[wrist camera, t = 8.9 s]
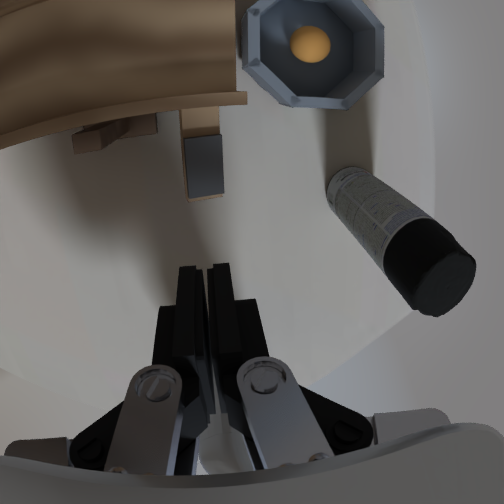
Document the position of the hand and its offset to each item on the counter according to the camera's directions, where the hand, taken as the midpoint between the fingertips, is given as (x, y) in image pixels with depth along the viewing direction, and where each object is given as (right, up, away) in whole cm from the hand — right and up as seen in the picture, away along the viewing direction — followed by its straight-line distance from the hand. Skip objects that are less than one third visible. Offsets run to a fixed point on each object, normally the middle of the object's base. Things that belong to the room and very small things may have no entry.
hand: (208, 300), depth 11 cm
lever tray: (-13, +15, +11) cm, 22 cm away
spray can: (+13, +9, +26) cm, 31 cm away
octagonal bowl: (+7, +23, +17) cm, 29 cm away
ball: (+7, +22, +14) cm, 27 cm away
